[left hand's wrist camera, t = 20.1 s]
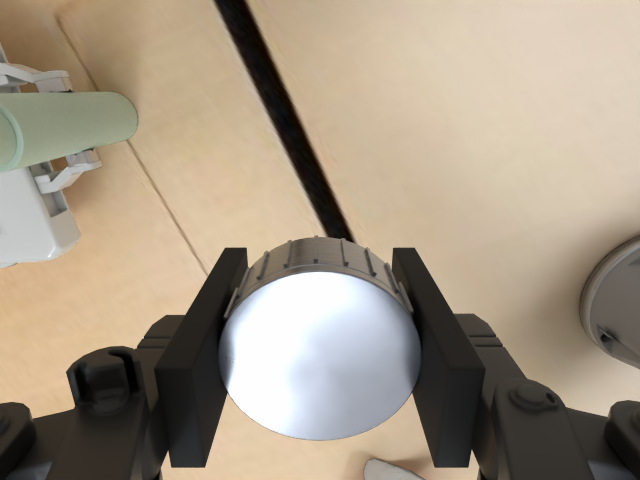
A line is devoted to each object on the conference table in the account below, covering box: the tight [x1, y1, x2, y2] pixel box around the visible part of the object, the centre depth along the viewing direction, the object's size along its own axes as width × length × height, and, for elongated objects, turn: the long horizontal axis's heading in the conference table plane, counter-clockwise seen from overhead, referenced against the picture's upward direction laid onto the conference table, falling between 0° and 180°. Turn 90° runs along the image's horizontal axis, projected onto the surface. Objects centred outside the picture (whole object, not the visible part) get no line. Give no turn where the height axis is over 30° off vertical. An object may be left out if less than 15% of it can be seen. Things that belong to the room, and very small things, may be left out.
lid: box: [217, 236, 422, 441], centre depth 11 cm, size 5×5×2 cm
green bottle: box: [0, 91, 138, 173], centre depth 29 cm, size 4×4×17 cm
